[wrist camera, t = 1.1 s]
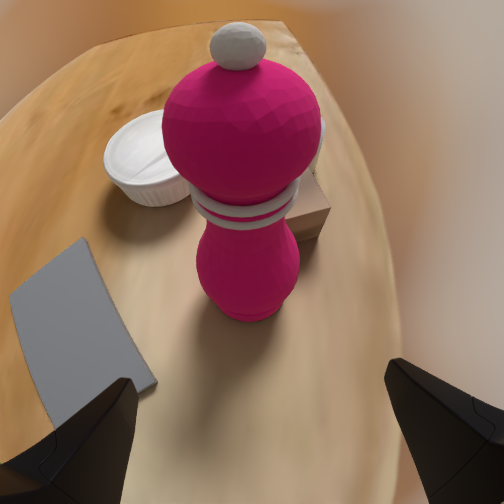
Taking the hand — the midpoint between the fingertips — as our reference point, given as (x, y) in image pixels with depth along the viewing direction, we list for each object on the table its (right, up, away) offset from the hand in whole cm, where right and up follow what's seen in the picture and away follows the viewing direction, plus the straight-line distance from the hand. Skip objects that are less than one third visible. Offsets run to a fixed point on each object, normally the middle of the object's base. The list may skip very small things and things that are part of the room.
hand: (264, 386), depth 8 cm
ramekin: (-10, +13, +21) cm, 27 cm away
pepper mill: (-1, +1, +15) cm, 16 cm away
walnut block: (+3, +7, +18) cm, 20 cm away
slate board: (-18, -4, +13) cm, 22 cm away
